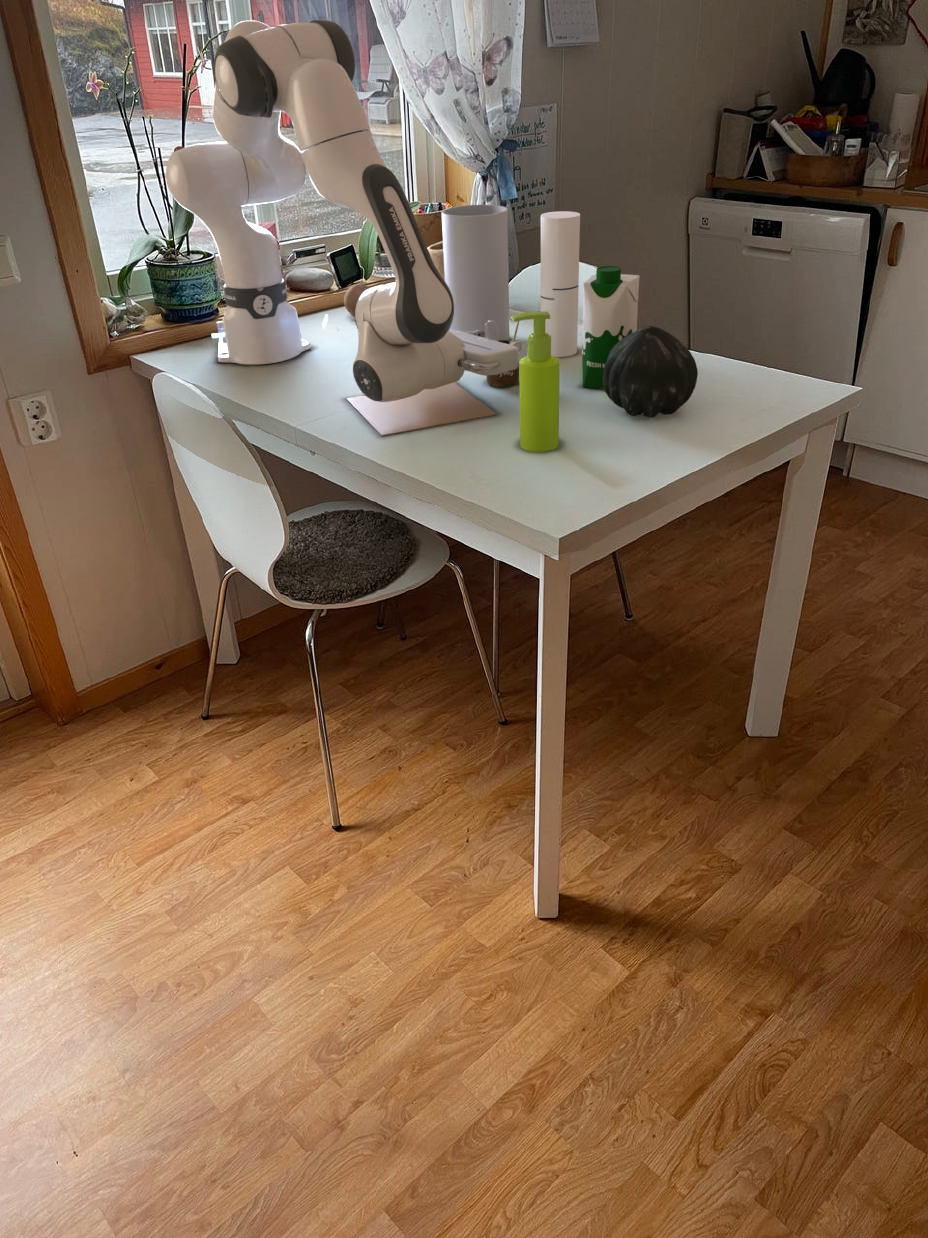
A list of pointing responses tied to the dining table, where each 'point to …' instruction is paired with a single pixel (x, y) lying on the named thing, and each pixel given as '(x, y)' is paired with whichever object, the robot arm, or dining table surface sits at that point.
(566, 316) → the cylindrical container
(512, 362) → the robot arm
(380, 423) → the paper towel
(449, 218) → the cylinder vase
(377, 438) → the dining table surface
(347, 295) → the potato
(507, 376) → the utensil holder
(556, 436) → the soap dispenser
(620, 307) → the milk carton
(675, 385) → the squash
